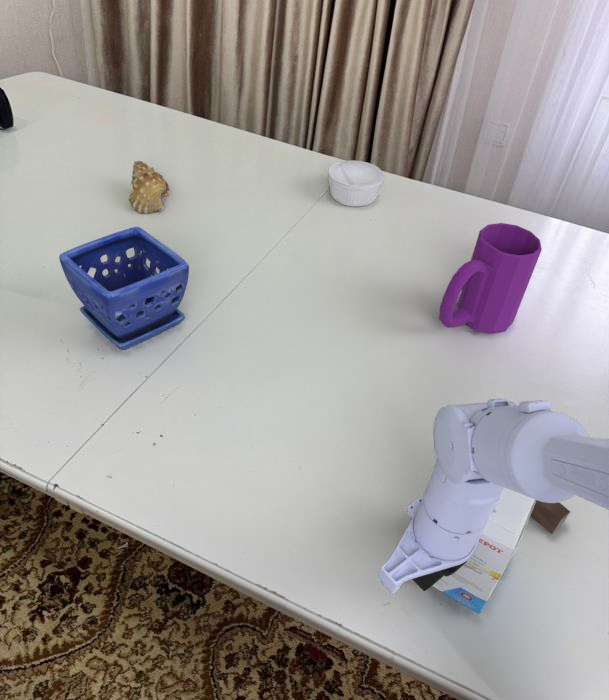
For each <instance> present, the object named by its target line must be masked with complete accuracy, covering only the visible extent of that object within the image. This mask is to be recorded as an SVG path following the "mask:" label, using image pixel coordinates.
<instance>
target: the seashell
mask: <svg viewBox="0 0 609 700" xmlns="http://www.w3.org/2000/svg"><path fill="white" fill-rule="evenodd" d="M132 169H133V170H132V175H131V182H130V183H131V185H132V189H133V190H132V191H131V193H130V194H129V195H128V197H127V198H128V201H129V203H130V206H131V207H132V208H133V210H134V211H136V212H137V213H139V214H143V215H147V214H149V215H150V214H154V213H157V212H158V211H159V212H162V211H164V210H165V206H164V204H163V202H162V199H164V198H167V197H168V195H170V189H171V188H170V186H169V184H168V182H167V180H165V178H164V176H163V175H162V174H161V173H160V172H158V171H155V168H154V167H151V166H149V165H148V164H147V163H145V162H143V161H142V160H137V161H134V162H133V166H132Z"/></svg>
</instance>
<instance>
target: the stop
mask: <svg viewBox="0 0 609 700" xmlns="http://www.w3.org/2000/svg"><path fill="white" fill-rule="evenodd" d="M570 514H571V510H569V509H568V508H567V507H566V506H565V505H563V504H562V502H559V503H546V502H541V501H538V500H536V502H535V505H534V508H533V510H532V512H531V515H530V517H531V518H532V519H533V520H535V521H536V522H537V523H538V524H539V525H540V526H542V527H543V528H544V529H545V530H546V531H547V532H549V533H550V534H551V535H553V534H554V533H555V532H557V531H558V530H559V529H560V528H561V527H562V526H563V524H564V523H565V521H566V519H567V518H568V517H569V515H570Z"/></svg>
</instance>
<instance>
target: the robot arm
mask: <svg viewBox="0 0 609 700" xmlns="http://www.w3.org/2000/svg"><path fill="white" fill-rule="evenodd" d="M432 430H433V431H432V432H433V434H432V435H433V447H434V452H435V456H436V460H435V463H434V465H433V467H432V471H431V474H430V476H429V479H428V482H427V485H426V487H425V490H424V493H423V495H422V497H417V498H415V499H414V500H413V501H411V502H410V503H409V504H408V505H407V507H406V513H407V514H408V515H409V517H410V518H411V519H410V522H409V523H408V525H407V527H406V529H405V530H404V533H403V534H402V536H401V537H400V540H399V542H398V544H396V547H395V548H394V551H393V552H392V554H391V555H390V556H389V558H388V559H387V560H386V562H384V564H382V565H381V566H380V567H379V570H378V573H377V577H376V579H378V581H379V582H380V583H381V584H382V585H383V586H384V588H385V589H386V590H387V591H388V592H389V593H390V594H391V595H395V594H396V593H397V592H398V591H399V590H400V588H401V586H402V585H403V583H405V582H408V581H410V580H412V581H413V582H414V583H415V584H416V585H417V586H418V587H419V589H421V590H422V591H423V592H427V591H428V590H429V589H430V588H432V587H433V585H434V584H435V583H436V582H437V581H438V580H440V579H441V578H442V577H443V576H446V577H447V576H450V575H452V574H453V573H455V572H456V571H457V570H458V569H460V568H461V567H462V566H463V565H464V564H465V563H466V562H467V560H468V559H469V558H470V557H471V556H472V554H473V552H474V550H475V548H476V546H477V544H478V542H479V539H480V537H481V535H482V533H483V530H484V528H485V526H486V524H487V521H488V519H489V517H490V515H491V513H492V511H493V509H494V508H495V507H496V506H497V505H498V504H499V503H500V502H501V499H500V498H499V497H500V495H501V493H502V491H503V489H504V488H507V489H510V490H512V491H515V492H518V493H520V494H523V495H525V496H527V497H530V498H533V499H535V500H538V501H541V502H546V503H559V502H560V503H562V502H565V501H568V500H571V499H572V498H574V497H578V498H581V499H583V500H585V501H588V502H590V503H592V504H594V505H596V506H598V507H601V508H603V509H605V510H608V511H609V438H606V437H597V436H590V434H589V432H588V430H587V429H586V427H585V426H584V425H583V424H582V423H581V422H580V421H579V420H578V419H576V418H575V417H573V416H571V415H569V414H568V413H564V412H559V411H554V410H551V402H550V401H548V400H542V399H536V400H526V401H520V402H519V403H518V404H517V403H515V402H514V401H512V400H509V399H508V398H491V399H487V401H486V402H477V403H465V404H447V405H446V406H444V407H441V408H439V409H438V411H437V412H436V414H435V416H434V421H433V429H432Z"/></svg>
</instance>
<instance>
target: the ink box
mask: <svg viewBox="0 0 609 700" xmlns="http://www.w3.org/2000/svg"><path fill="white" fill-rule="evenodd" d="M499 498H500V499H501V502H500V503H499V504H498V505H497V506H496V507H495V508H494V509H493V511H492V513H491V515H490V517H489V519H488V521H487V524H486V526H485V528H484V530H483V533H482V535H481V537H480V539H479V542H478V544H477V546H476V548H475V550H474V552H473V554H472V556H471V557H470V558H469V559H468V560H467V562H466V563H465V564H464V565H463V566H462V567H461V568H460V569H458V570H457V571H456V572H455V573H453V574H452V575H450V576H447V577H446V576H443V577H442V578H441V579H440V580H438V581H437V582H436V583H435V584H434V585H433V586H432V587H433V588H435V589H437V590H438V591H440V592H441V593H442V594H444V595H446V596H448V597H449V598H451V599H453V600H454V601H456V602H458V603H460V604H461V605H463V606H465V607H466V608H468V609H469V610H471V611H472V612H474V613H476V614H478V615H480V614H482V612H483V610H484V608H485V606H486V605H487V603H488V601H489V599H490V597H491V596H492V594H493V592H494V591H495V588H496V586H497V584H498V583H499V581H500V580H501V578H502V576H503V574H504V572H505V570H506V569H507V567H508V564H509V563H510V561H511V559H512V558H513V556H514V554H515V553H516V551H517V549H518V546H519V544H520V541H521V539H522V537H523V534H524V532H525V530H526V527H527V524H528V523H529V519H530V517H531V516H530V515H531V512H532V510H533V508H534V505H535V502H536V500H535V499H533V498H530V497H527V496H525V495H523V494H520V493H518V492H515V491H512V490H510V489H507V488H504V489H503V491H502V493H501V495H500V497H499Z"/></svg>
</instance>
